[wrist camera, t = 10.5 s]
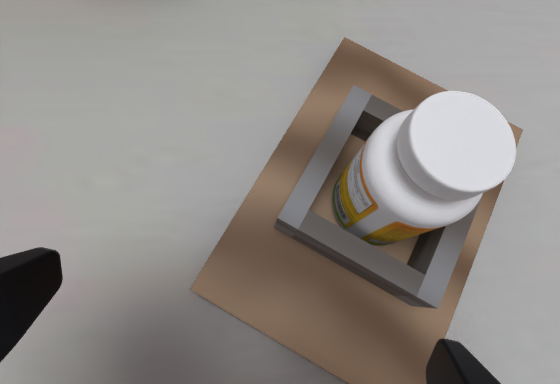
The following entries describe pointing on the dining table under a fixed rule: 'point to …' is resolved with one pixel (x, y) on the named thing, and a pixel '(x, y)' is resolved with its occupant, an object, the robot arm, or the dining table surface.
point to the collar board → (342, 240)
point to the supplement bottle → (424, 168)
